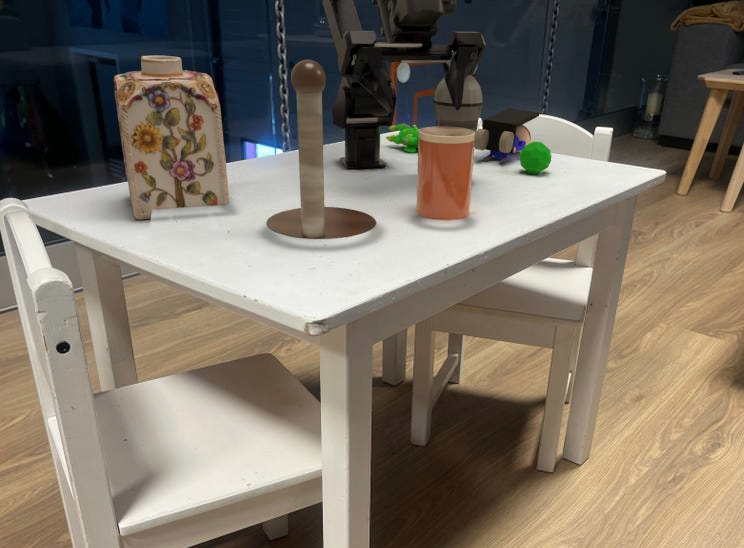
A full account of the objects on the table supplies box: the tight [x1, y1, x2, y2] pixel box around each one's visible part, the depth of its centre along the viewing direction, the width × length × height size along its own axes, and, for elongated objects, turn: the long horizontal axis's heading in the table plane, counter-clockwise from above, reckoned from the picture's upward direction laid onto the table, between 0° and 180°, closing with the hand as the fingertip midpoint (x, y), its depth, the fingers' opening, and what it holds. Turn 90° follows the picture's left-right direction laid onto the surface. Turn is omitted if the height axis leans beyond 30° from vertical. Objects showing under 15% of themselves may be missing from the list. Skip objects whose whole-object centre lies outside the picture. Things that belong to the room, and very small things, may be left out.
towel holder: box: [265, 59, 377, 240], centre depth 81 cm, size 13×13×19 cm
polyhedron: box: [518, 140, 552, 175], centre depth 115 cm, size 5×5×5 cm
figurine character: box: [474, 107, 540, 164], centre depth 125 cm, size 7×8×15 cm
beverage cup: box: [432, 74, 484, 145], centre depth 105 cm, size 7×7×20 cm
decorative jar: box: [113, 55, 230, 221], centre depth 90 cm, size 12×12×18 cm
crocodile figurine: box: [385, 122, 420, 153], centre depth 128 cm, size 7×18×4 cm, turn 56°
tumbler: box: [415, 125, 476, 221], centre depth 88 cm, size 7×7×11 cm
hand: (425, 109), depth 91 cm, fingers open, 9 cm apart
